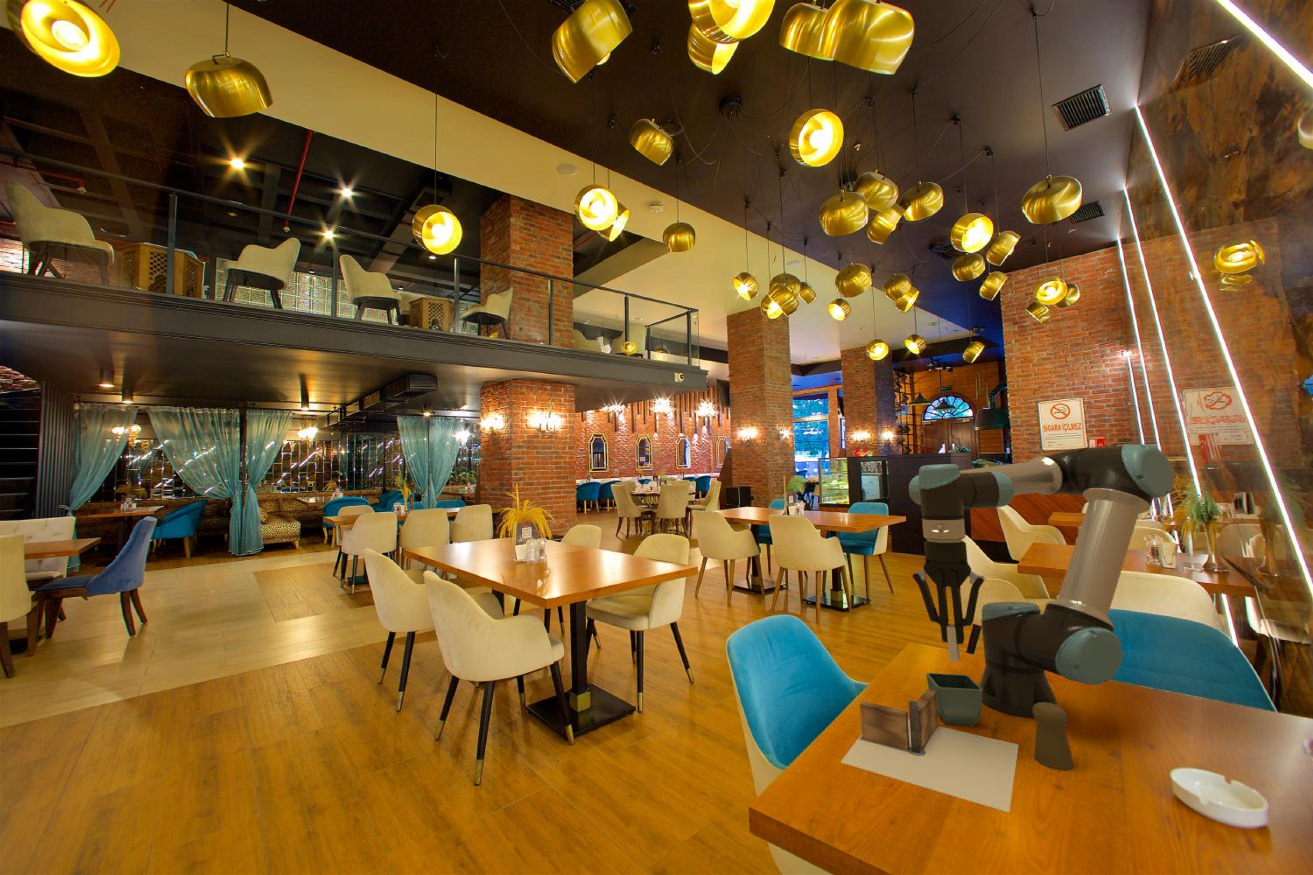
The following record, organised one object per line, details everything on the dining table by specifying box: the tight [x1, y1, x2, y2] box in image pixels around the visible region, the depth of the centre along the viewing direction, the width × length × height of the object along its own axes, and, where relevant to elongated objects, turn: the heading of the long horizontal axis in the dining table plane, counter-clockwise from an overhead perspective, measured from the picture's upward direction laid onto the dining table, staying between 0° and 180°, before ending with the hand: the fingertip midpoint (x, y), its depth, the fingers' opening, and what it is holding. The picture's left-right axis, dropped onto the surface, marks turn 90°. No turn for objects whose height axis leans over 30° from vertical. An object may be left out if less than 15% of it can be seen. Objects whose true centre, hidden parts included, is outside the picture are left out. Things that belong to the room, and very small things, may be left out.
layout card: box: [840, 718, 1019, 814], centre depth 99 cm, size 26×26×1 cm
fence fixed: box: [859, 700, 921, 753], centre depth 103 cm, size 11×2×9 cm, turn 53°
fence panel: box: [916, 688, 939, 748], centre depth 106 cm, size 12×2×7 cm, turn 140°
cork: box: [1032, 702, 1075, 772], centre depth 96 cm, size 6×6×11 cm
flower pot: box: [925, 672, 983, 726], centre depth 114 cm, size 9×9×9 cm
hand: (954, 659), depth 105 cm, fingers closed
